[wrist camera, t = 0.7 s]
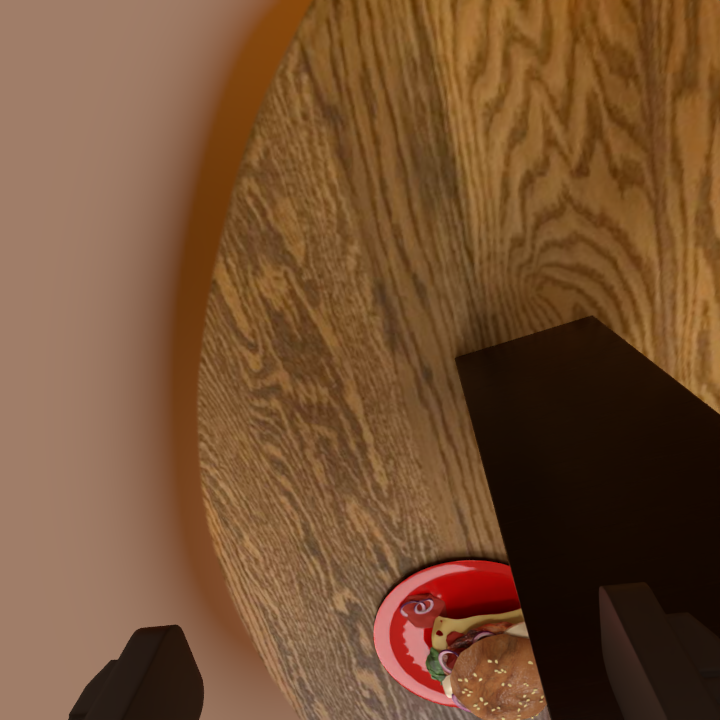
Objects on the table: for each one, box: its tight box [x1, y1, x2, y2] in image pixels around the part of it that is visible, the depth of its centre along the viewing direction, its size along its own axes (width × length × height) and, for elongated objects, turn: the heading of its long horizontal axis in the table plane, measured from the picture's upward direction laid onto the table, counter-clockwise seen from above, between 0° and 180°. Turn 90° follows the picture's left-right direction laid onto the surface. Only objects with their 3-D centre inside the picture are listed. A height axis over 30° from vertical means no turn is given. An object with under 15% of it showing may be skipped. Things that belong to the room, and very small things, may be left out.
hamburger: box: [374, 560, 547, 720], centre depth 35 cm, size 14×14×6 cm
